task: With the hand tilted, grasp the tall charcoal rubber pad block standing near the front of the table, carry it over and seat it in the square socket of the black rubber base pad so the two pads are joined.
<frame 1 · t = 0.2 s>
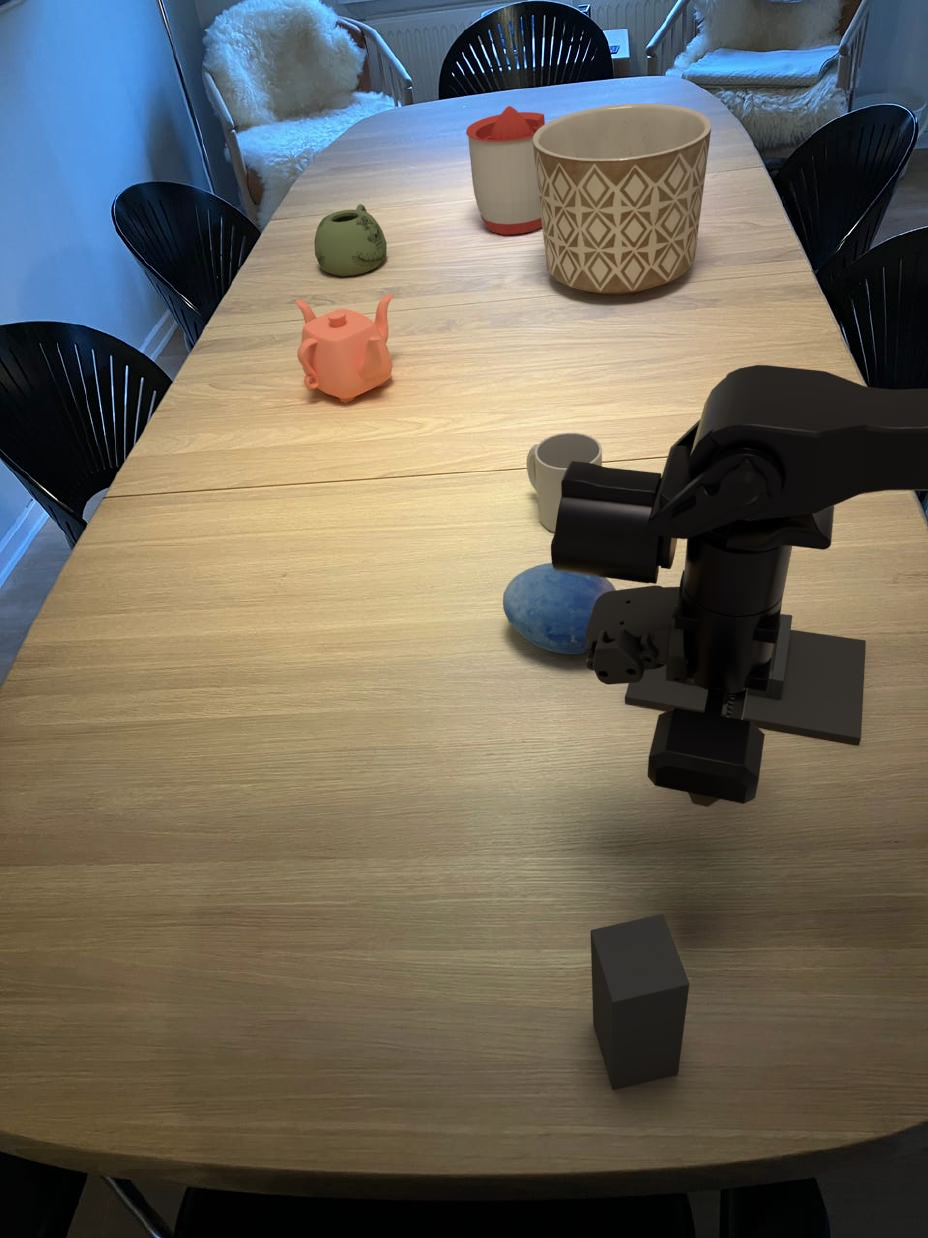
hand: (710, 750, 65), 12 cm above the table, tool pointing down, fingers open, 9 cm apart
cup: (561, 513, 106), on the table
green round vase: (356, 262, 168), on the table
teapot: (359, 382, 135), on the table
citrus juicer: (521, 224, 172), on the table
blue oval fruit: (579, 642, 91), on the table
base pad: (745, 675, 85), on the table
planter: (619, 276, 151), on the table
pad block: (634, 1048, 62), on the table
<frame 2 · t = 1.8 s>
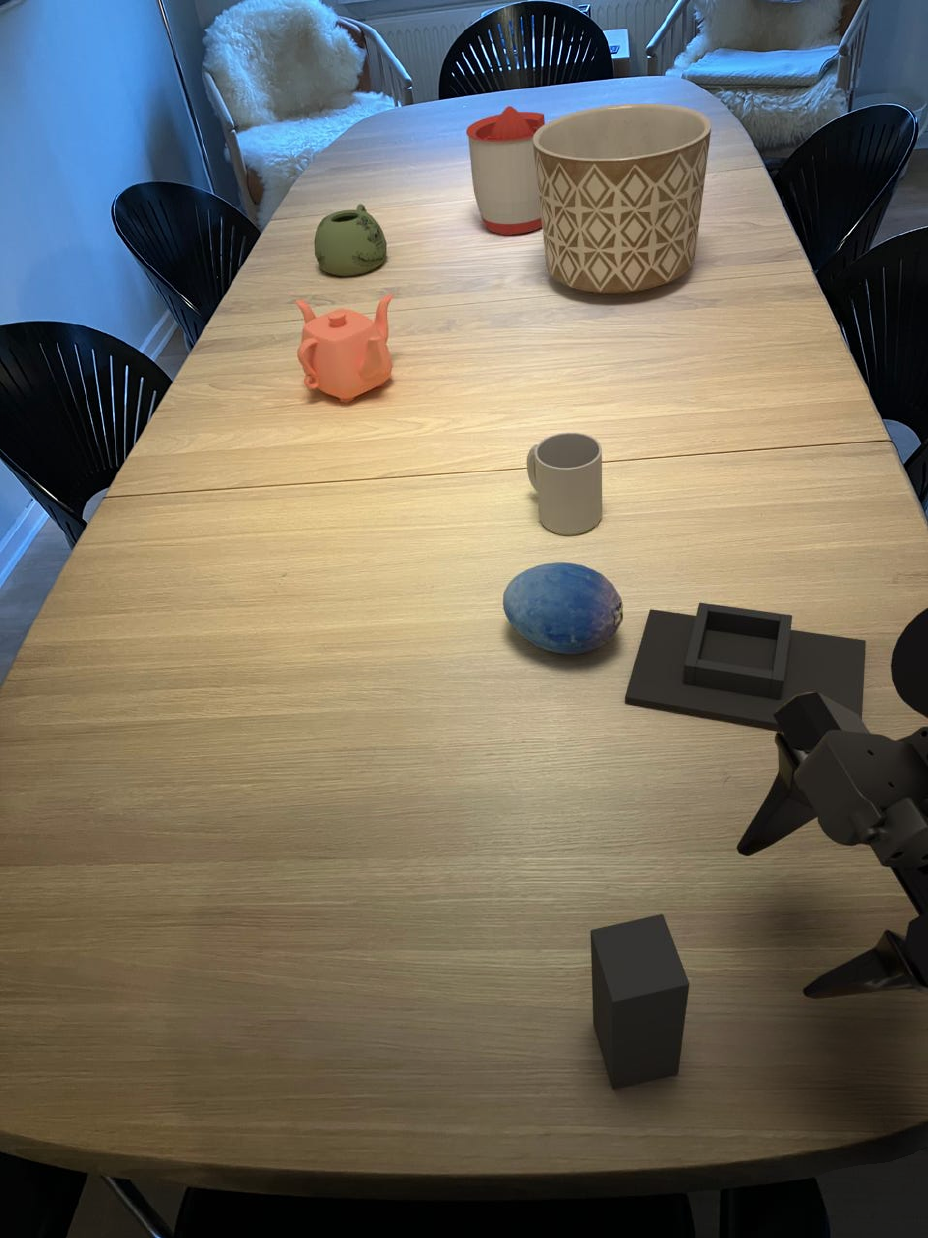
hand: (772, 919, 54), 13 cm above the table, tool tilted 45°, fingers open, 9 cm apart
nothing on the table moved.
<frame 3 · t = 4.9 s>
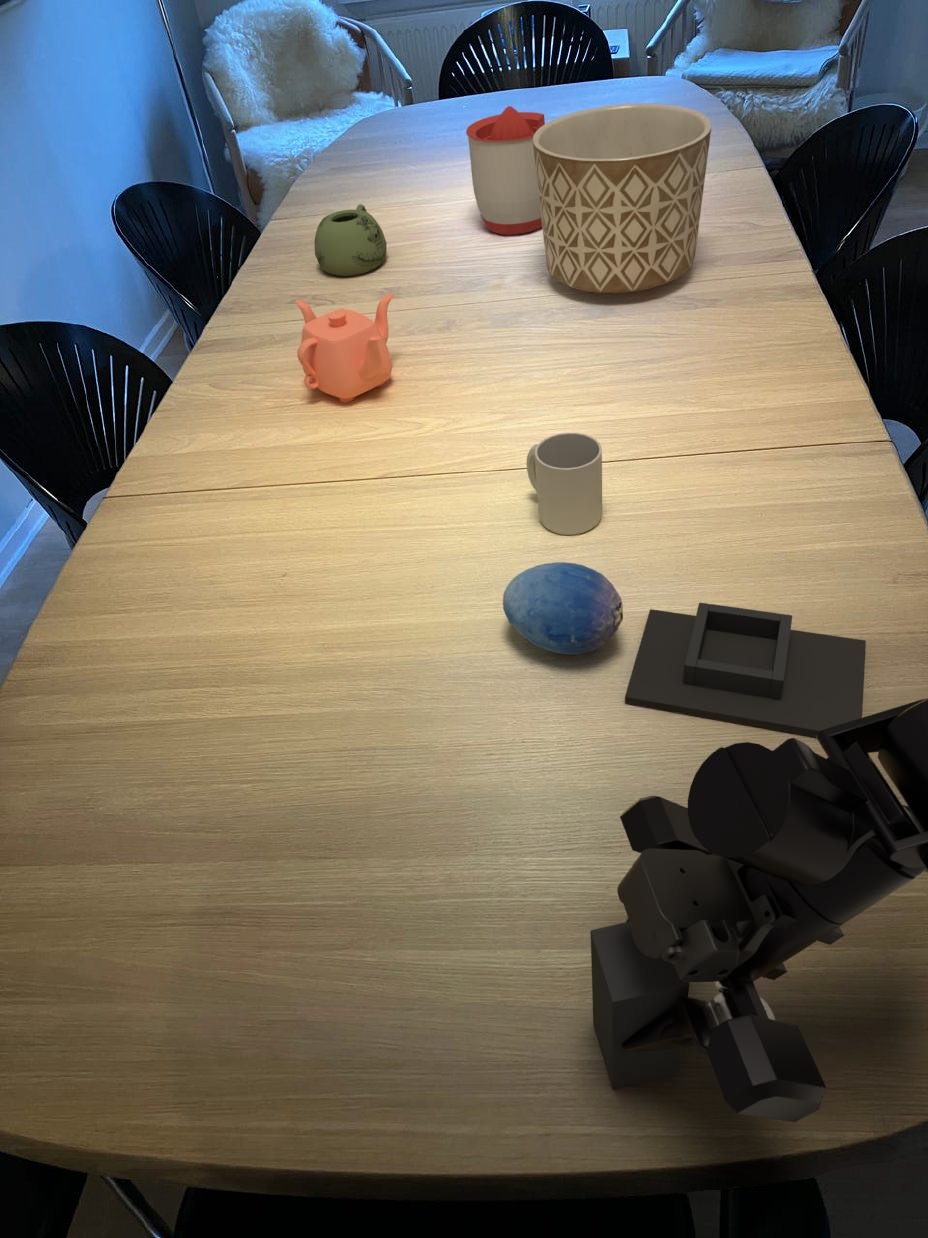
hand: (615, 1010, 58), 7 cm above the table, tool tilted 45°, fingers closed on pad block, 4 cm apart
pad block: (634, 1048, 62), on the table, touching gripper
everything else where it was.
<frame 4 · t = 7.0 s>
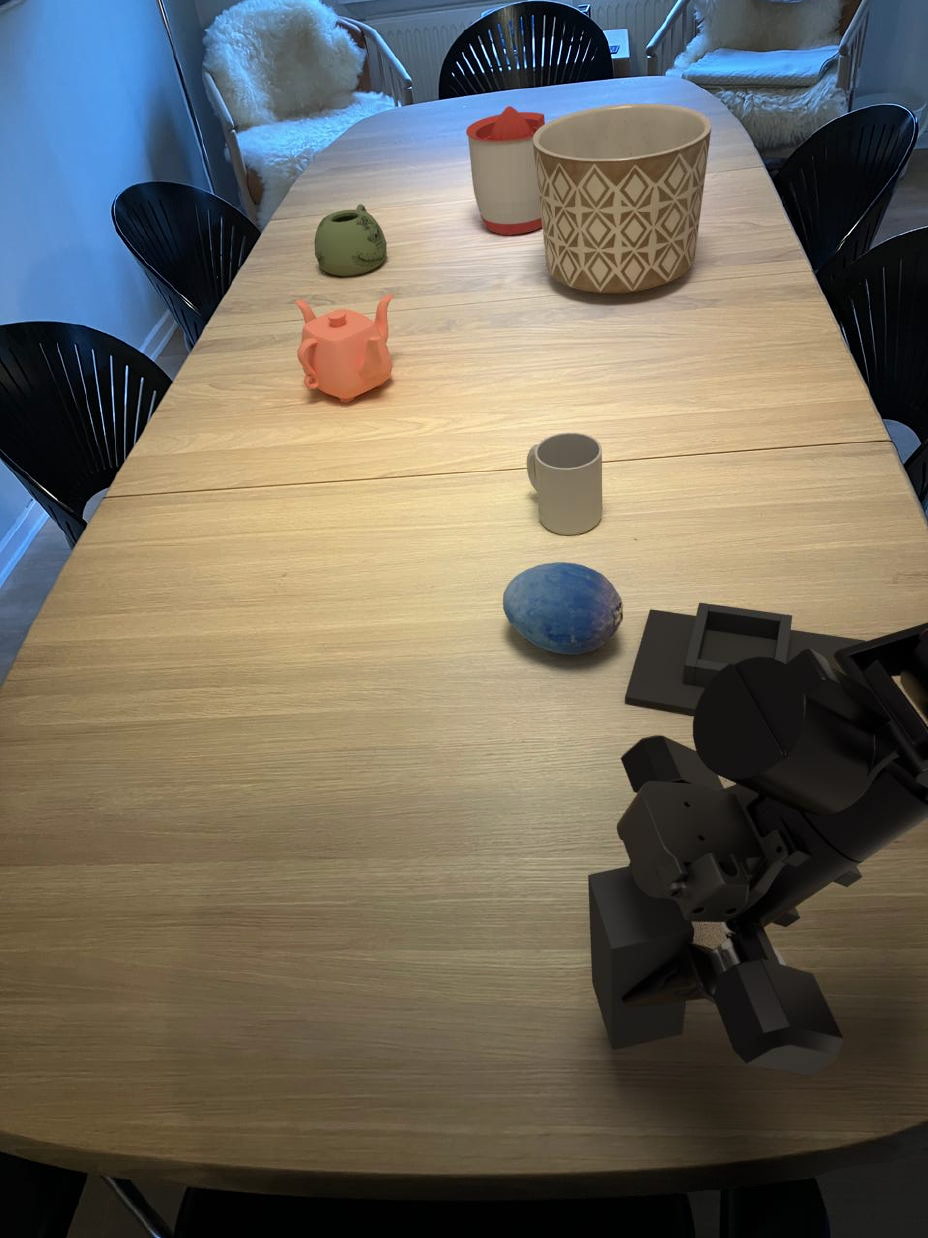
hand: (614, 963, 54), 12 cm above the table, tool tilted 45°, fingers closed on pad block, 4 cm apart
pad block: (636, 1007, 58), point 6 cm above the table, touching gripper
everything else where it was.
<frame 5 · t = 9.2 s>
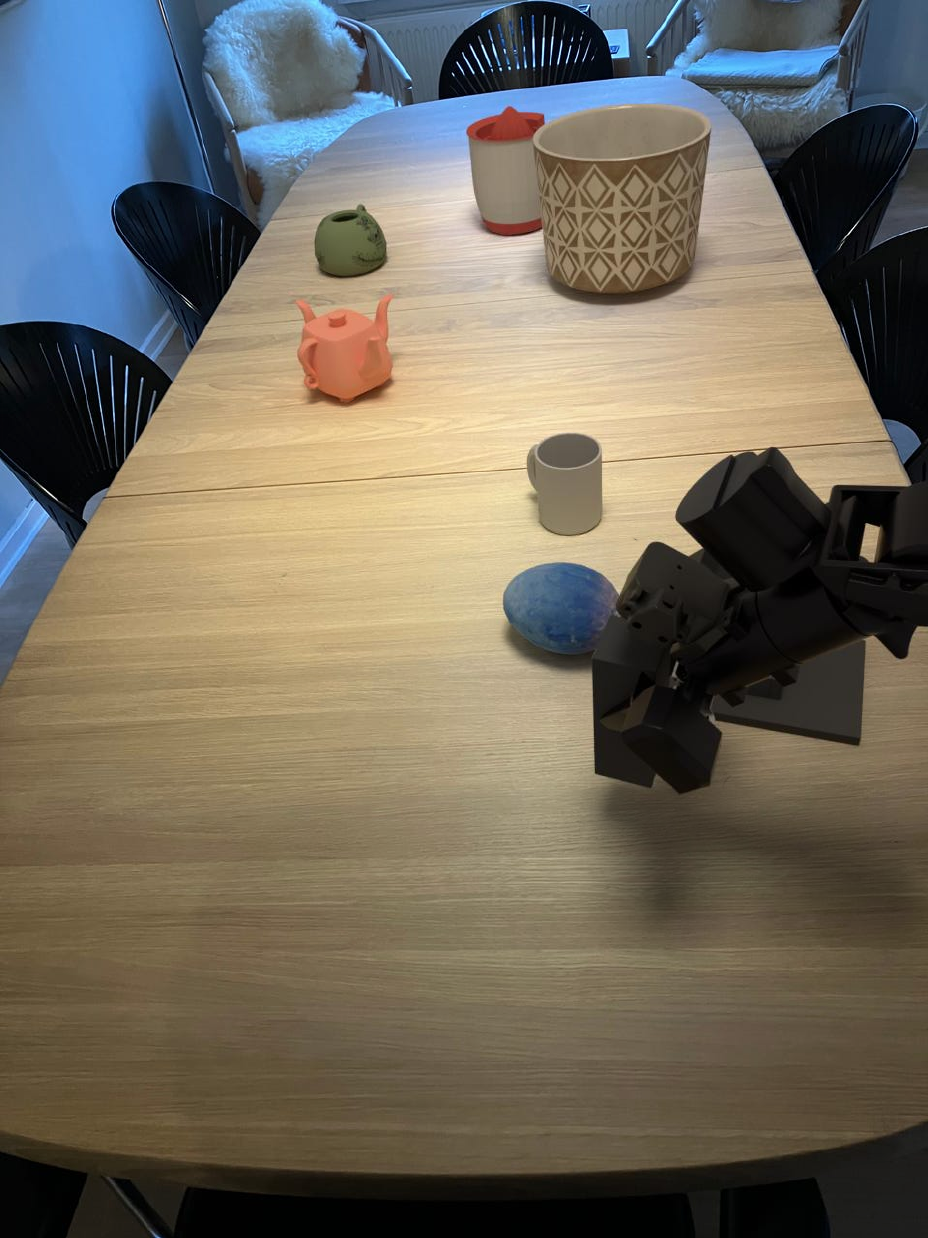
hand: (613, 699, 69), 12 cm above the table, tool tilted 45°, fingers closed on pad block, 4 cm apart
pad block: (630, 759, 72), point 6 cm above the table, touching gripper
everything else where it was.
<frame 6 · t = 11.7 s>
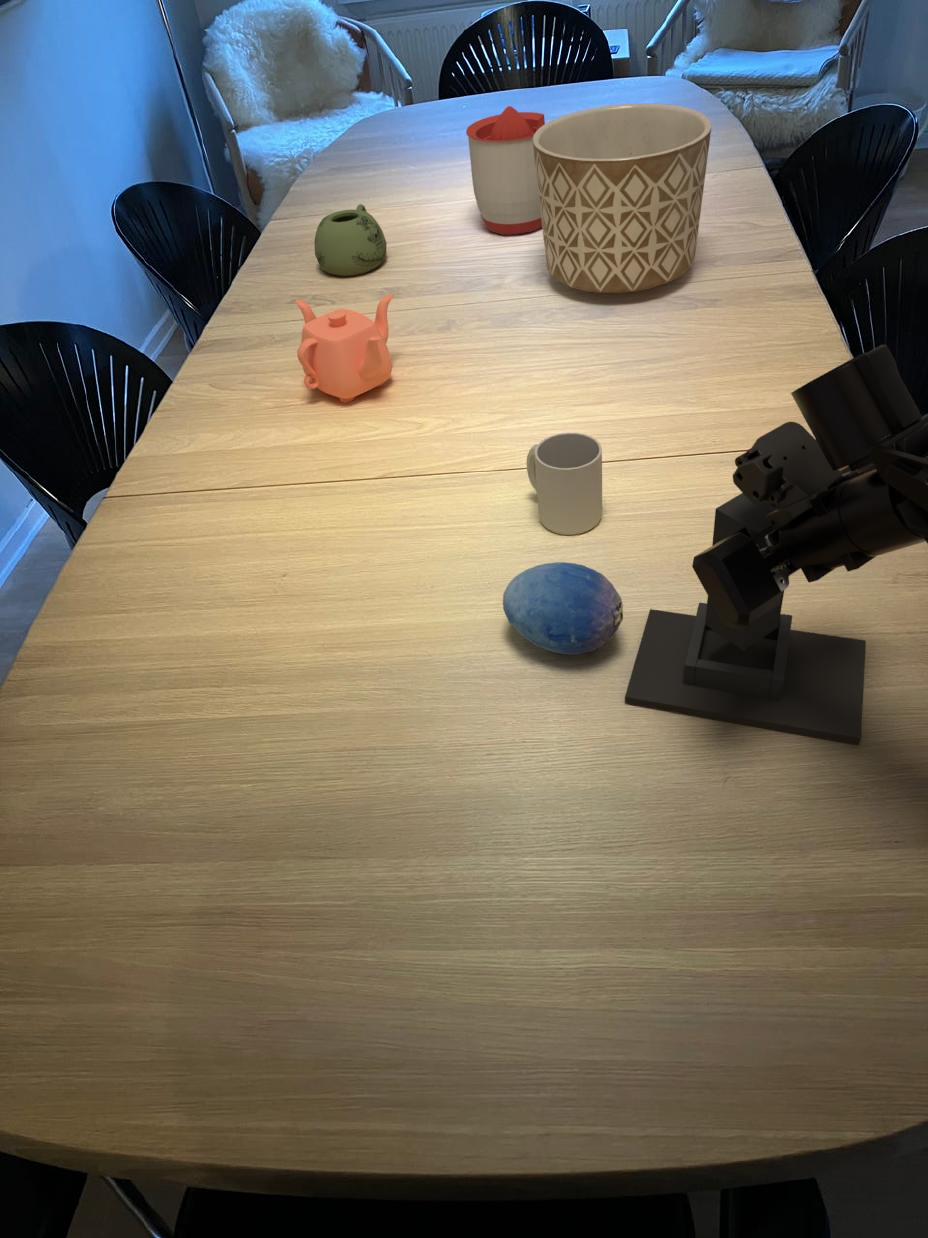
hand: (736, 562, 79), 12 cm above the table, tool tilted 45°, fingers closed on pad block, 4 cm apart
pad block: (741, 626, 83), point 5 cm above the table, touching gripper
everything else where it was.
when the fingers open (8 cm above the table, at t = 13.3 s): pad block stays where it is, resting on base pad.
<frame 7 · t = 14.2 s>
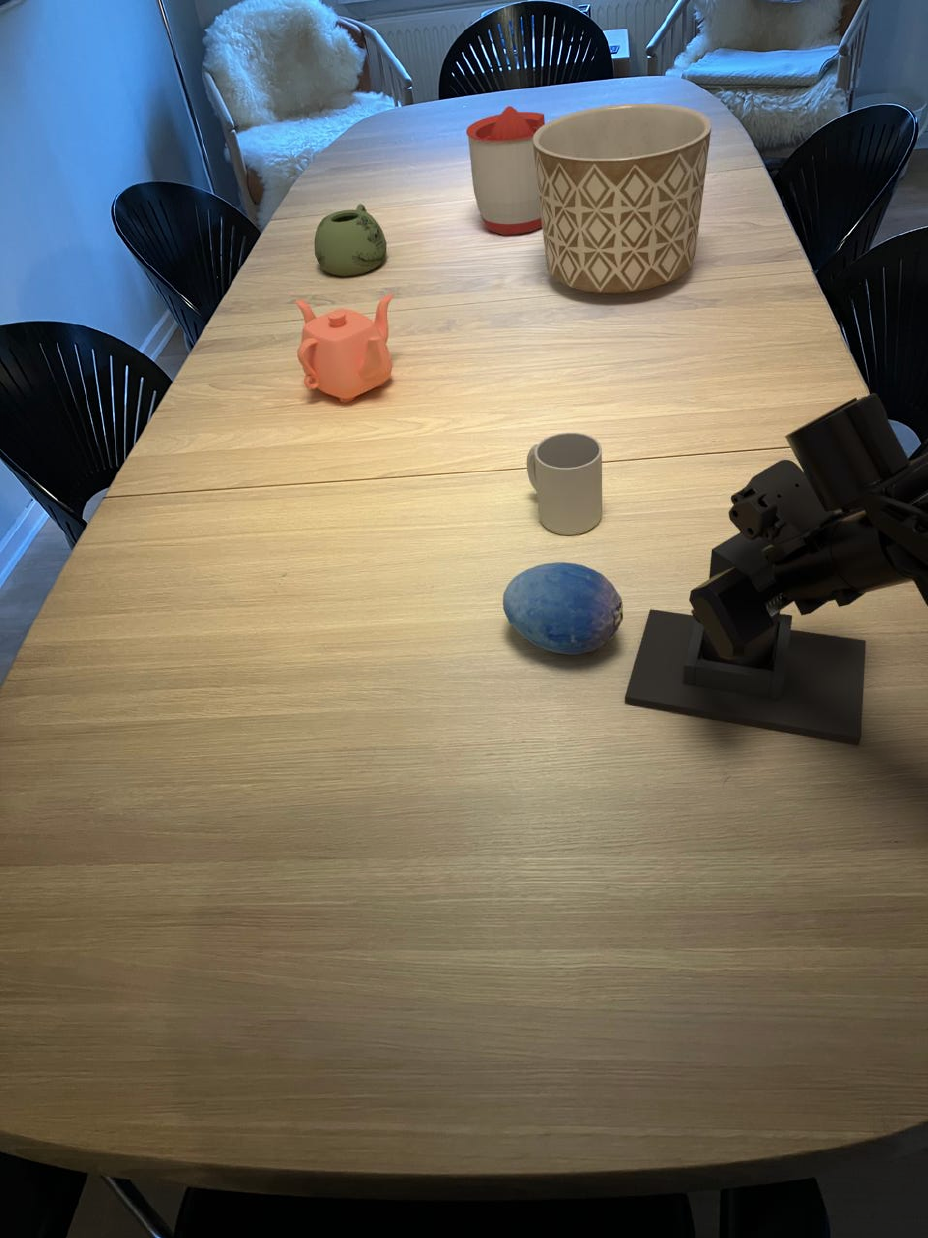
hand: (732, 591, 81), 8 cm above the table, tool tilted 45°, fingers open, 9 cm apart
pad block: (736, 658, 86), point 1 cm above the table, touching base pad
everything else where it was.
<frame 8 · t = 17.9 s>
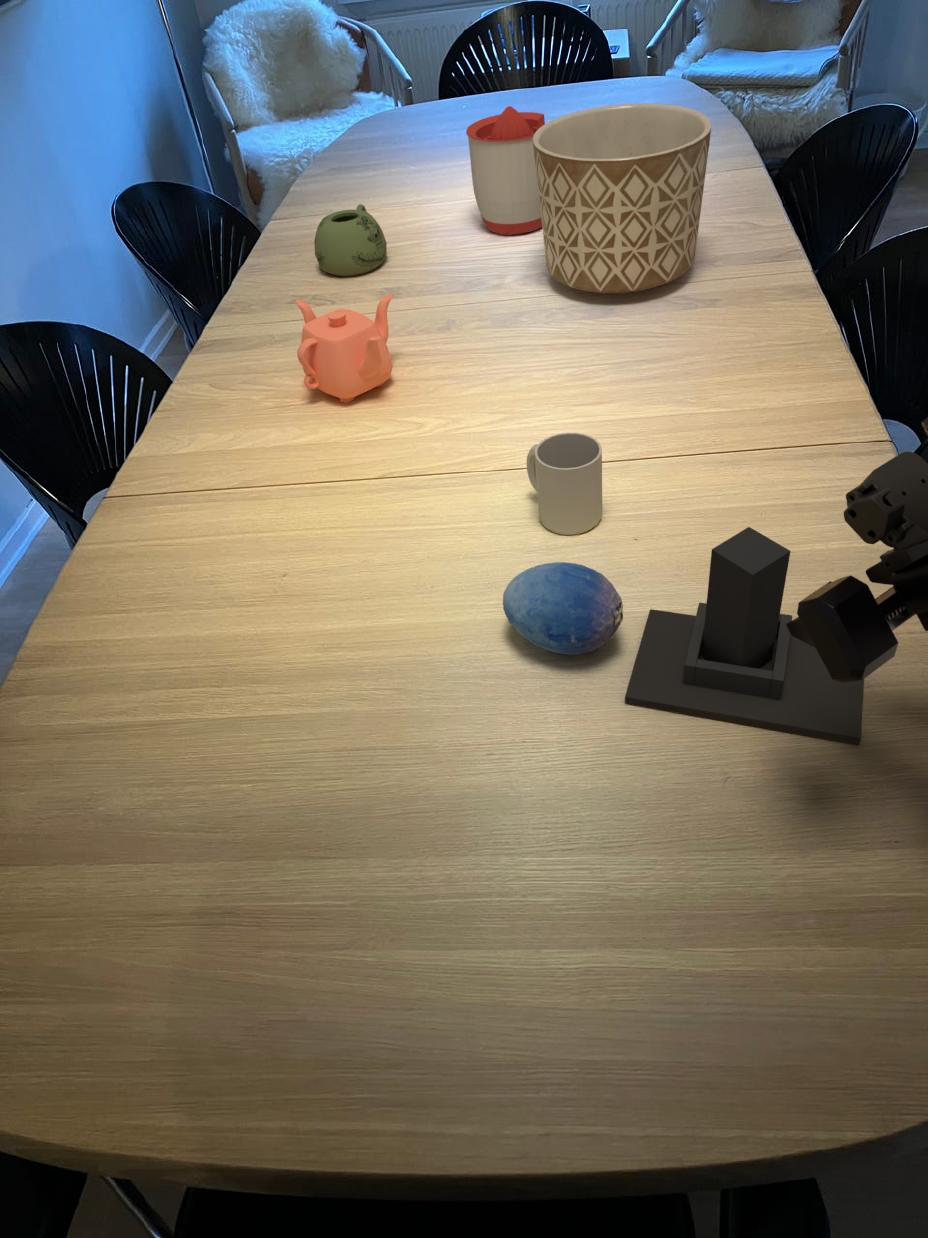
hand: (830, 601, 72), 14 cm above the table, tool tilted 45°, fingers open, 9 cm apart
nothing on the table moved.
at the end: pad block 0.0 cm from the target spot on the base pad, point 1.0 cm above the base pad's base; pad block tilted 0° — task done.
